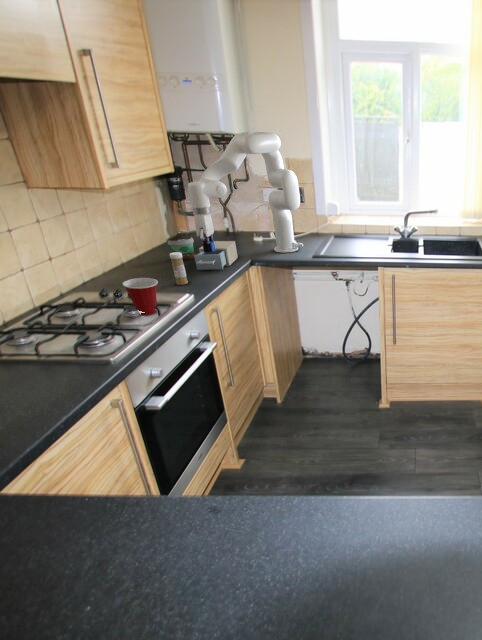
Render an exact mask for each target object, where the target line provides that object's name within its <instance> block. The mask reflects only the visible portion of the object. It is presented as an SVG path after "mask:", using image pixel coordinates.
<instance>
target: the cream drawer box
mask: <svg viewBox="0 0 482 640" xmlns="http://www.w3.org/2000/svg"><path fill="white" fill-rule="evenodd" d="M213 241H214V244H215V249H216V250H225V252H226V257H227V263H226V264H225V265H224V266H223V267H228V266H229V267H230V266H231V265H232V264H233V263H234V262H235V261H237V260H238V258H239V256H238V252H237V251H238V250H237V245H236V241H235V240H213ZM198 251H199V253H200V252H201V251H203V245H202V246H201V247H199V248H198Z"/></svg>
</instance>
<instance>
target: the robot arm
mask: <svg viewBox="0 0 482 640" xmlns="http://www.w3.org/2000/svg"><path fill="white" fill-rule="evenodd" d="M281 145H282V142H281V139H280V137H279V136H278V135H277V134H276V133H274V132H266V131H265V132H264V131H255V132H254V131H253V132H251V133H250V134H249V133H236V134H235V135H234V136H233V137H232V138H231V140H230V142H229V143H228V145H227V146H226V147H225V149H224V151H223V152H222V154H221V156H220V157H219V158H218V159H217V160H215V161H214V162H213V163H212V164H210V165H209V166H208V167H207V168H205V170H204V171H203V173H202V174H201V176H200V178H199V180H198V181H191V182H188V184H187V189H188V195H189V199H190V203H191V205H190V206H191V209H192V213H193V216H194V227H195V233H196V237H197V238H199V239H200V240H201V245H202V244H203V245H202V246H203V248H204V252H212V249H211V244H210V243H209V241H214V237H213V236H214V233H215V228H214V222H213V218H212V214H213V212H212V208H211V207H212V206H211V202H210V199H221V198H224V197H225V196H226V195H227V193H228V188H227V185H225V183H223V182H222V181H220V180H221V179H222V178H223V177H225V176H227V175H230V174H232V173H234V172H236V171H238V170H239V169H240V167H241V165H242V163H243V162H244V160H245V159H246V157H247V155H261V156H262V157H263V160H264V164H265V169H266V177H267V182H268V183H269V185H270V186H271V187H274V188H277V189H274V190H272V191H271V192H270V193H269V194H268V204H269V208H270V211H271V215H272V220H273V221H272V222H273V229H274V236H275V243H276V246H275V247H274V249H273V251H274V252H276V253H281V254H283V253H284V254H285V253H286V254H287V253H294V252H296V251H299V248H303V247H304V243H302V242H297V240H296V239H295V233H294V224H293V216H292V213H291V212H295V211H297V210H298V209H299V208H300V206H301V193H300V188H299V187H300V186H299V180H298V177H297V175H296V174H295V172H294V171H292V170H291V169H287V168H285V167H284V162H283V157H282V155H281V151H280V150H279V149H280V148H281Z"/></svg>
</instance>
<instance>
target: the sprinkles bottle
mask: <svg viewBox="0 0 482 640" xmlns="http://www.w3.org/2000/svg"><path fill="white" fill-rule="evenodd" d="M169 258H170V260H171V265H172V270H173V274H174V278H175V284H176V285H177V286H183V285H186V284H187V285H188V284H189V281H188V278H187V273H186V268H185V264H184V260H183V259H182V253H181V252H173V253H172V252H170V253H169Z"/></svg>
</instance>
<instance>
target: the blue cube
mask: <svg viewBox="0 0 482 640" xmlns="http://www.w3.org/2000/svg"><path fill="white" fill-rule="evenodd" d="M214 241H215V240H213V241H209V243H210V244H211V249H212V252H213V251H214V250H216V249H215V244H214ZM201 245H202V246H203V244H202V243H201ZM203 250H204V248H203Z"/></svg>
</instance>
